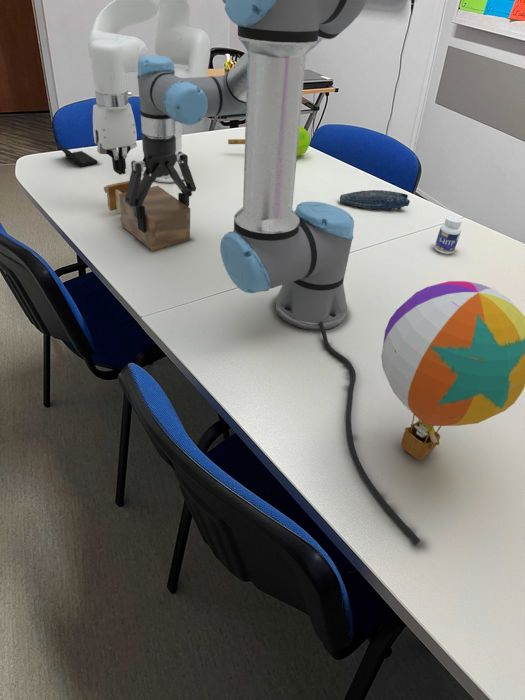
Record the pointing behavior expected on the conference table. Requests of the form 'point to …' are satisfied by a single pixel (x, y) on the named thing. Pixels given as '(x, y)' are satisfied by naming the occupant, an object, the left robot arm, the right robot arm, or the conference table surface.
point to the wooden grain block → (158, 219)
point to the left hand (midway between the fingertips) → (120, 172)
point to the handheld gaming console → (78, 156)
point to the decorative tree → (302, 141)
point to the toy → (453, 358)
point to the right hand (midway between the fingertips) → (163, 224)
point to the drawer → (115, 194)
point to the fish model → (376, 199)
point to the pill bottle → (448, 235)
